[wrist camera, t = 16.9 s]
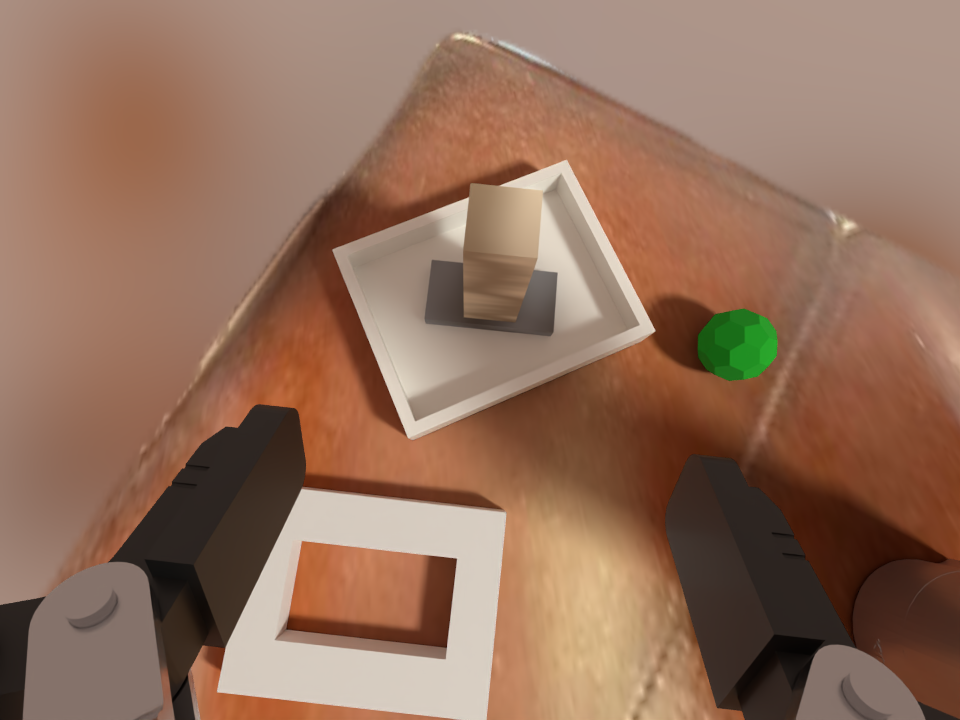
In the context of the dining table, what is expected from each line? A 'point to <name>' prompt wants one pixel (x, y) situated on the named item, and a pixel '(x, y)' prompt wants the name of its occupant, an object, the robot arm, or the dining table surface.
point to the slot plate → (366, 662)
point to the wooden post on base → (496, 268)
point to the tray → (476, 352)
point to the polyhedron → (737, 344)
